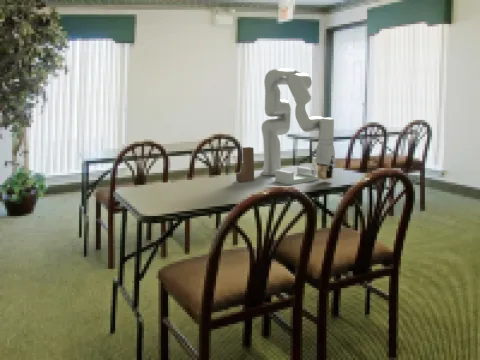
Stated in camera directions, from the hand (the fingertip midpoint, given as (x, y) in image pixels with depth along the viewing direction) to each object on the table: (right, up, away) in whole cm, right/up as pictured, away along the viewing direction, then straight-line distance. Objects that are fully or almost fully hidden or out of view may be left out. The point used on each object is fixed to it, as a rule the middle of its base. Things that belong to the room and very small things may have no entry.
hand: (325, 176), depth 254 cm
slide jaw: (-6, +1, +12) cm, 14 cm away
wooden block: (-41, -3, +10) cm, 43 cm away
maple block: (0, -1, 0) cm, 1 cm away
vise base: (-14, -2, +8) cm, 16 cm away
